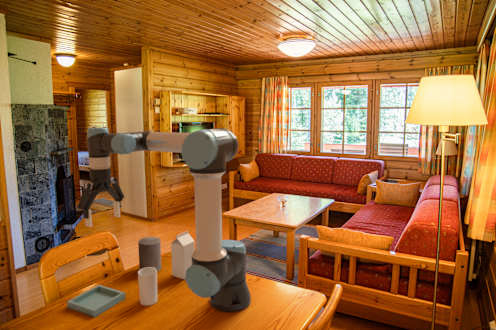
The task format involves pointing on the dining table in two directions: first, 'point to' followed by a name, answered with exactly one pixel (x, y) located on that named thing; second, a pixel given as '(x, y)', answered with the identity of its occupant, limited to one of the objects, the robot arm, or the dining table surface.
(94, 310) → the tray
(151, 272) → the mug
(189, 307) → the dining table surface
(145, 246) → the dark gray cylinder
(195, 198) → the robot arm
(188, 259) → the milk carton
